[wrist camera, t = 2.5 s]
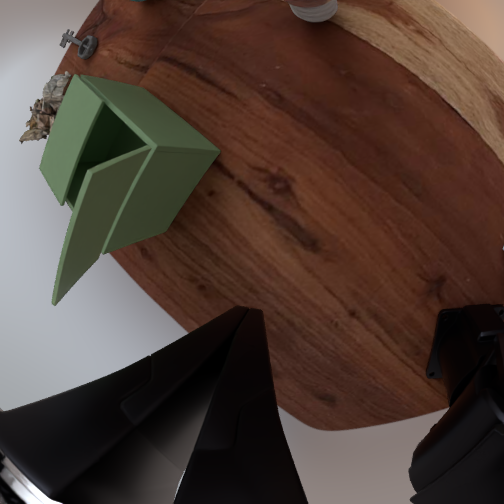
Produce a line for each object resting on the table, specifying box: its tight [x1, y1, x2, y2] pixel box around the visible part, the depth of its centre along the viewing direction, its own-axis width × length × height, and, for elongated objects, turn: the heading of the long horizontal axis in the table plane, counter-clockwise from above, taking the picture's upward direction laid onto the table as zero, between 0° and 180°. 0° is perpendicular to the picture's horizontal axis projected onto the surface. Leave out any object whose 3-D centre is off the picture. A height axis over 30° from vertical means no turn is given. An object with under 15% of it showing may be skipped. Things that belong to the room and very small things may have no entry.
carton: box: [39, 75, 221, 254], centre depth 19 cm, size 11×9×8 cm
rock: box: [19, 71, 71, 143], centre depth 25 cm, size 8×15×4 cm, turn 85°
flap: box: [52, 145, 152, 306], centre depth 13 cm, size 5×9×1 cm
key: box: [60, 29, 97, 59], centre depth 22 cm, size 12×1×3 cm
